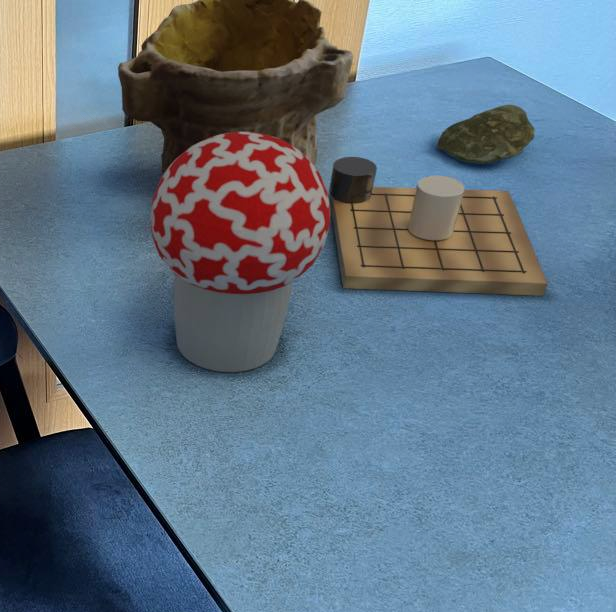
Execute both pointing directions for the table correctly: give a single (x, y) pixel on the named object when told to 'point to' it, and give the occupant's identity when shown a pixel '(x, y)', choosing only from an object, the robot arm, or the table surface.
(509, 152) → the green rock
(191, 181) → the decorative object
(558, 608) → the table surface
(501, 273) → the board
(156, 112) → the ceramic vessel
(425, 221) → the beige cylinder
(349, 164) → the black stone
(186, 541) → the table surface
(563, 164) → the table surface
